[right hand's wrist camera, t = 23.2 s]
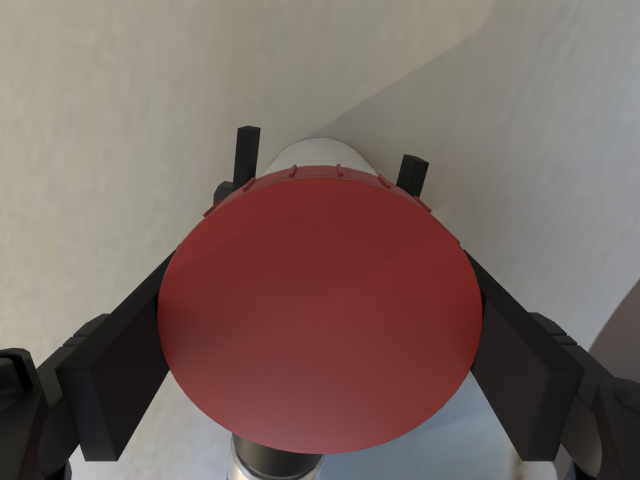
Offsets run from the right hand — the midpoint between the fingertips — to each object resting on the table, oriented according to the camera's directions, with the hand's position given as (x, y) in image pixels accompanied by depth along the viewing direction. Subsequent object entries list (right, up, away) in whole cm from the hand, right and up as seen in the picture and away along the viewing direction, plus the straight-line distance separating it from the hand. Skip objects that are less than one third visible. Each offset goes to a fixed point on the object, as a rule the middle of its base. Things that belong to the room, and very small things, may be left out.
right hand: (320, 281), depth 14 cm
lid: (0, -1, -3) cm, 3 cm away
